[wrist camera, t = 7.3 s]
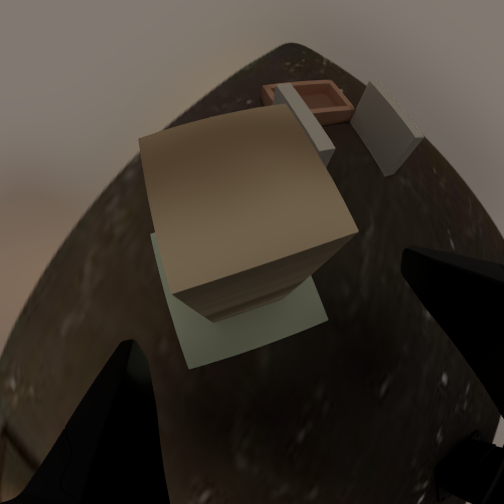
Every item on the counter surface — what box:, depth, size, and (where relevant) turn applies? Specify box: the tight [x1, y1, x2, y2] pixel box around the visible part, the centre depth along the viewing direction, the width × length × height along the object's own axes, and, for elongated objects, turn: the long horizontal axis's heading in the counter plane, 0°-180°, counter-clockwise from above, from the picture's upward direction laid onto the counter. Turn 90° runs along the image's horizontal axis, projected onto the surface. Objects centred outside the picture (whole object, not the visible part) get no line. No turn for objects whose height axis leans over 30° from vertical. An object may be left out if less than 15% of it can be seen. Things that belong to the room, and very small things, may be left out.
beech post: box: [139, 103, 359, 323], centre depth 13 cm, size 5×5×12 cm
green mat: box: [150, 233, 328, 369], centre depth 19 cm, size 10×10×1 cm
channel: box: [273, 81, 424, 176], centre depth 20 cm, size 7×10×6 cm
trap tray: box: [261, 80, 356, 126], centre depth 24 cm, size 5×8×2 cm, turn 109°
